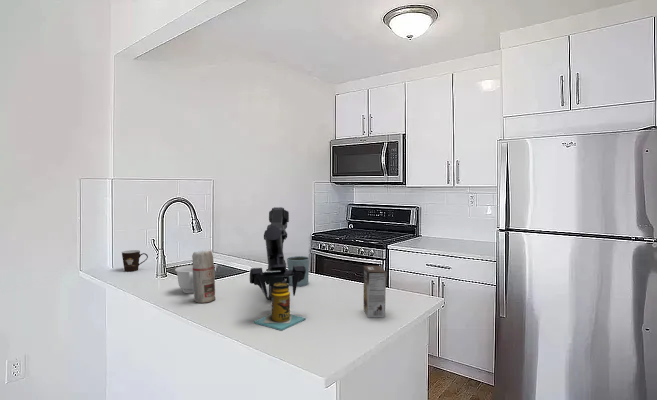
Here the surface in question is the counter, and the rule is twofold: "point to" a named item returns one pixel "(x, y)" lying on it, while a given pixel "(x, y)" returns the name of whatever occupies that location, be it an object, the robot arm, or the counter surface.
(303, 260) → the grey teal cup
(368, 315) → the coffee box
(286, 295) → the condiment
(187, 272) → the teacup
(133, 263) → the coffee mug
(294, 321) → the mat
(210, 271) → the spray can
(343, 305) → the counter surface
